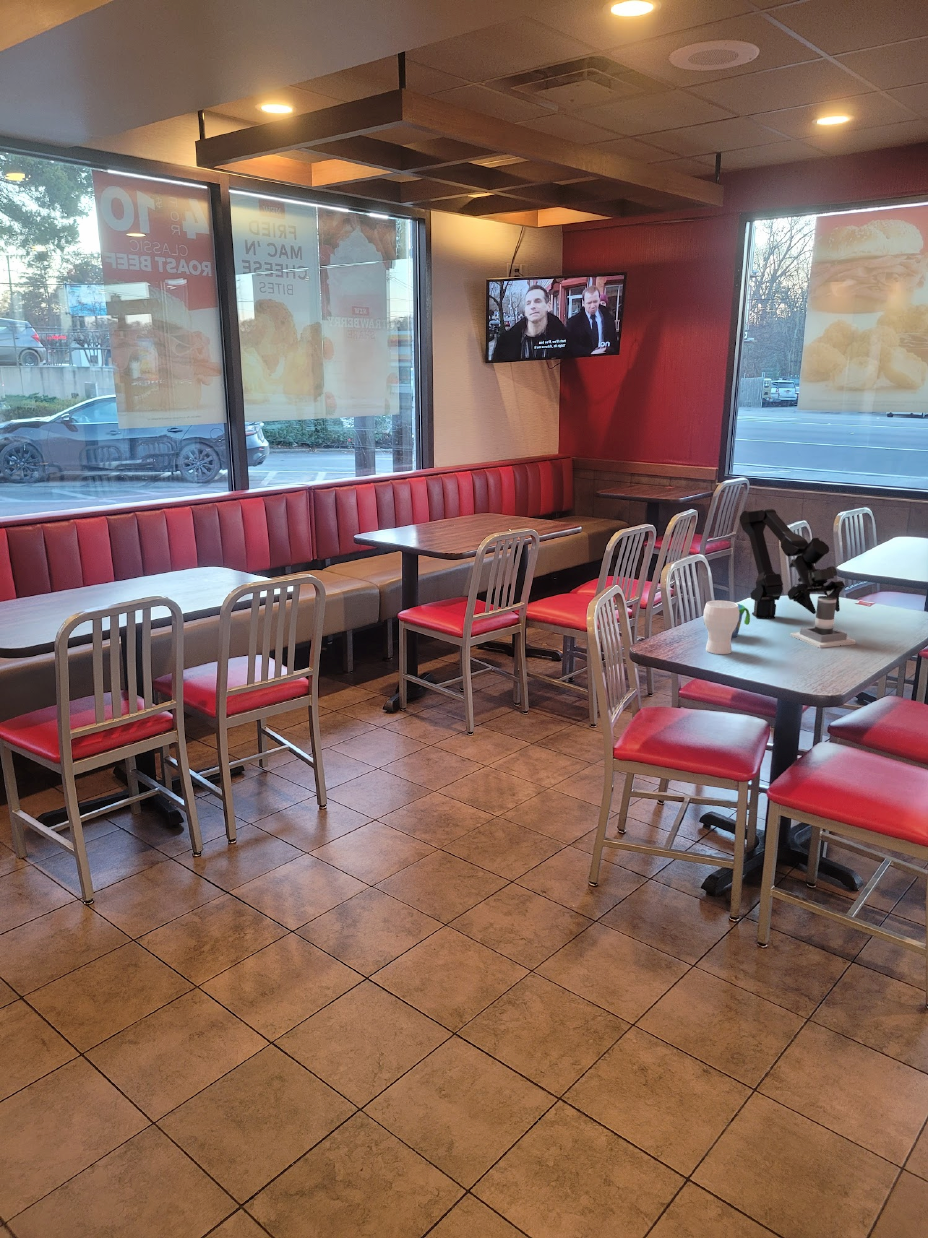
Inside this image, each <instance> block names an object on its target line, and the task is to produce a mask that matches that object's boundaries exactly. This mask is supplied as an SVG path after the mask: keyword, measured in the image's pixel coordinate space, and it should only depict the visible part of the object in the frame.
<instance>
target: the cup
mask: <svg viewBox="0 0 928 1238" xmlns="http://www.w3.org/2000/svg"><path fill="white" fill-rule="evenodd" d="M738 604H739V603H737V604H736V602H734V601H729V600H721V599H720V600H716V599H715V600H710V601H709V600H708V601H707V602H706V603H705V606H704V609H703V623H704V622H705V624H704V626H705V627H706V630H707V637H708V638H707V642H706V645H705V646H706V647H705V651H706V652H708V653H711V654H714V655H715V654H716V655H727V654H730V653H732V640H731V639H732V637H731V636H732V632H733V631H734V629H735V628H736V626H737V623H738V621H739V607H738Z"/></svg>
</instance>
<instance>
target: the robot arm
mask: <svg viewBox="0 0 928 1238" xmlns="http://www.w3.org/2000/svg"><path fill="white" fill-rule="evenodd" d="M739 523H740V526H741V528H742V531H744V533H746V535H748V537H749V541H750V546H751V549H752V553H753V557H754V561H755V566H756V569H757V574H758V576H757V577H756V581H755V586H756V587H754V589H753V590H752V591H751V592H750V600H753V601H754V603H753V604H754V605H753V612H752V613H751V615H753V616H754V618H756V619H776V612H777V611H776V610H777V604H776V601H779V600H780V598H781V596H782V593H783V590H784V586H783V585H784V583H783V581H782V575H781V574H780V573H776V572H775V571H774V569H773V565H772V561H771V557H770V553H769V549H768V545H767V541H766V537H765V533H764V531H765V529H766V526H767V528H768V529H769V530H770V531H771V532H772V534H774V536H775V537H776V539H778V540H779V542H780V549H781V551H782V552H783V553H784V555H785V556H786V557H795V558H794V559H793V558H792V559H791V562H790V564H789V568H795V570H796V572H797V574H798V576H799V578H798V579H797V581H798V583H795V584H794V585H793V586H792V587H791V588H790V589H789V590H788V591H787V597H788V599H789V601H793V602H794V603H795V602H796V603H797V604H799V605H801V606H802V607H804V608H805V609H806V610H807V611H809V612H810V613H811V614H813V615H816V611H817V609H816V608H815V606H814V603H813V600H812V599H811V594H813V593H815V594H816V593H823V594H824V596H831V597H835V598H836V606H835V612H836V613H838V612H840V594H841V592H842V591H843V590H844V589H845V588H846V586H845V583H844V581H843V580H841V579H840V580H839V579H838V580H831V579H835V577H837V575H838V571H837V569H836V567H835V566H833V565H831V566H828V567H826V568H822V569H820V568H817V567H816V566H815V565H816V564H818V563H819V562H820V561H821V560H822V559H823V558H824V557H826V556H827V555H828V554H829V552H830V547H829V545H828V544H827V543H825V542H824V541H823V540H820V538H819V537H813V538H812V539H810V541H809V542H808V541H807V539H806V538H805V537H804V536H802V535H800V534H798V533H796V532H793V531H792V530H791V528H790V527H789V526H788V525H787V524H786V523H785V522H784V521H783V519H782V518H781V517H780V516H779V515H778V514H777V512H776V510H775V509H773V508H763V509H755V510H753V509H752V510H751V509H750V510H743V511H742V512H741V514H740V515H739ZM828 580H831V581H830V582H829V583H828ZM801 582H802V583H801ZM826 583H828V584H826ZM825 584H826V585H825Z"/></svg>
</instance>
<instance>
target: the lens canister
mask: <svg viewBox="0 0 928 1238" xmlns="http://www.w3.org/2000/svg"><path fill="white" fill-rule="evenodd" d="M835 606H836V598H835V597H831V596H826V595H820V596H817V603H816V613H815V620H814V627H815V630H814V632H815V633H818V634H820V635H828V634H832V633H833V629H834V625H835V624H834V623H835V613H836V610H835Z"/></svg>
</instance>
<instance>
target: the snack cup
mask: <svg viewBox="0 0 928 1238" xmlns="http://www.w3.org/2000/svg"><path fill="white" fill-rule="evenodd" d="M735 603H736V602H735ZM736 604H738V607H739V621H738V623H737V626H736V628H735V629H734V631H733V632H732V636H731V638H737V636H738V635H739V631H740V628H741V624H742V619H743V615H744V613H745V618H744V624H745V625H746V626H747V625H749V624H750V621H751V615H750V612H749V609H748V608H747V607H745V606H744V605H743V604H740V603H736ZM703 623H704V625H705V622H704V621H703Z"/></svg>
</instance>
